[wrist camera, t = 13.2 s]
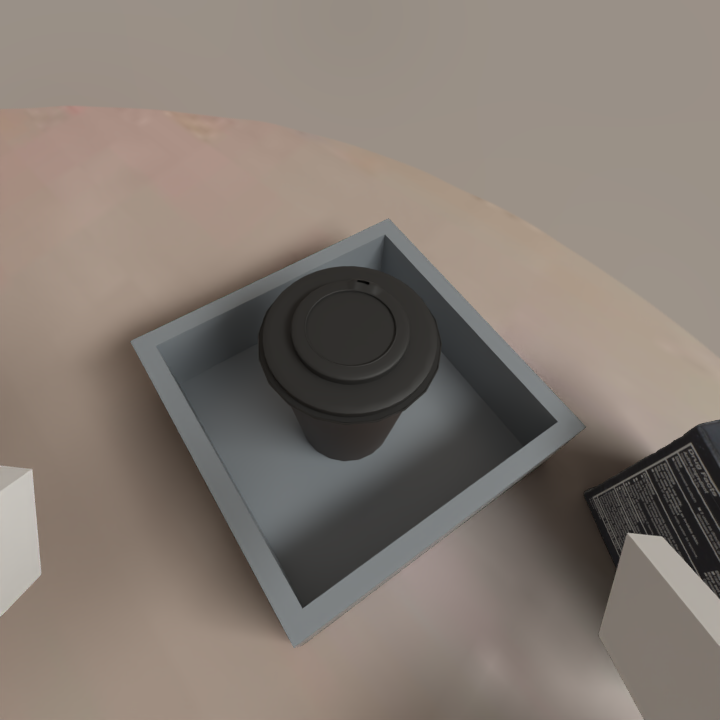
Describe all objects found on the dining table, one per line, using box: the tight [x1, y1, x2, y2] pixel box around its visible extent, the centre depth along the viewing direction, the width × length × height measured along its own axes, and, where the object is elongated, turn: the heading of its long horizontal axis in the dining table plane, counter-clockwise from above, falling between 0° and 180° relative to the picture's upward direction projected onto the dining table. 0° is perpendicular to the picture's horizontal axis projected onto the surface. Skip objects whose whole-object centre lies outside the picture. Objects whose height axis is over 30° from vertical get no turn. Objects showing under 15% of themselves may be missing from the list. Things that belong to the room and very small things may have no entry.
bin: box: [130, 218, 586, 648], centre depth 28 cm, size 17×17×6 cm
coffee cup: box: [258, 266, 442, 461], centre depth 25 cm, size 8×8×10 cm
